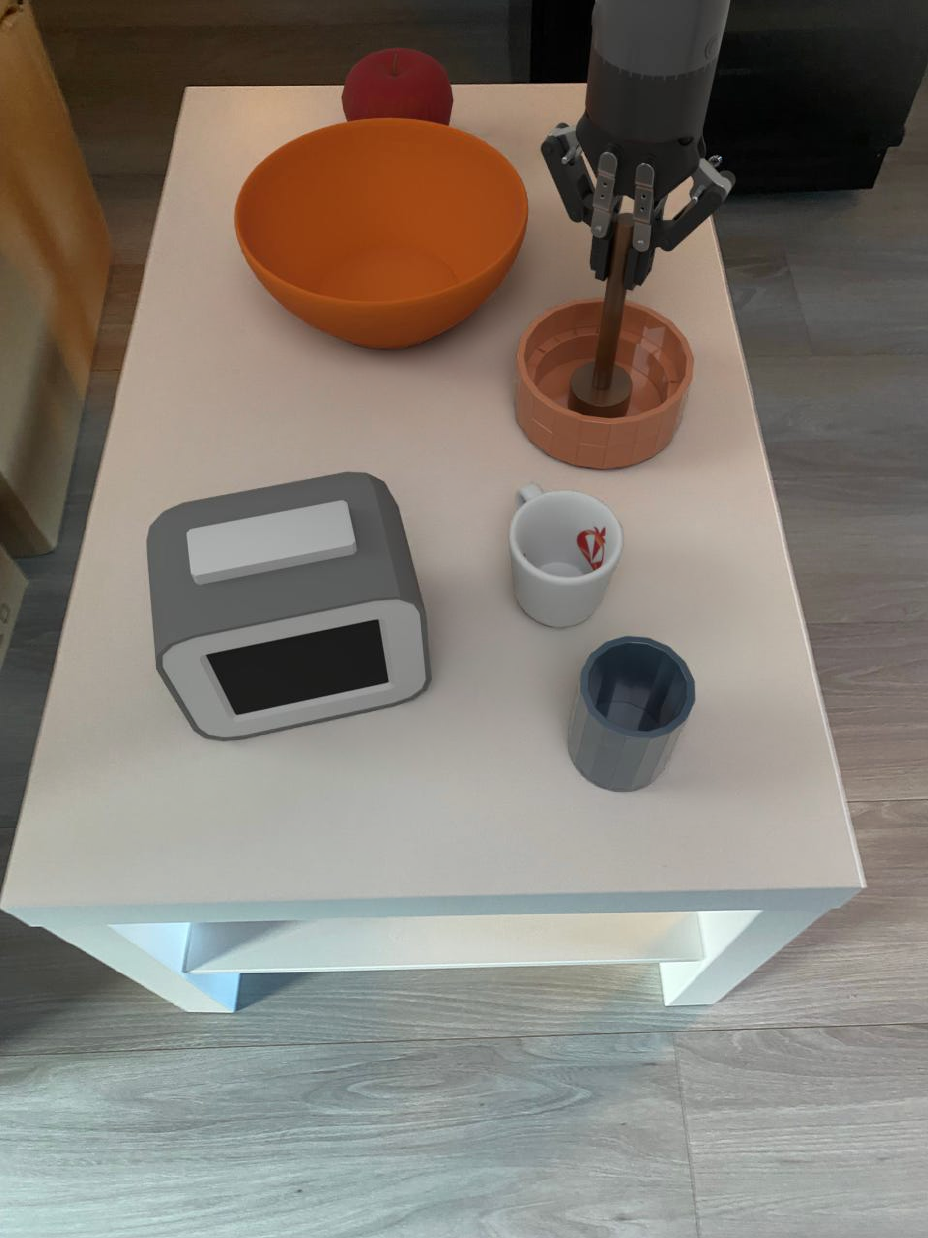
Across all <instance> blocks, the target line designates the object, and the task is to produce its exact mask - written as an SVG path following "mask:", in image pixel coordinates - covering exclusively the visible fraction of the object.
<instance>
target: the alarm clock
mask: <svg viewBox="0 0 928 1238" xmlns="http://www.w3.org/2000/svg"><path fill="white" fill-rule="evenodd" d="M145 543H146V562H147V573H148V586H149V597H150V611H151V622H152V634H153V636H152V637H153V646H154V647H153V648H154V660H155V670H156V672H157V673H158V675H159V677H160V678H161V680H162V681H163V683H164V685H165V686H166V688H167V690H168V691H169V693H170V695H171V696H172V698H173V700H174V701H175V703H176V704H177V706H178V708H179V710H180V711H181V712H182V715H183V716H184V718H185V719H186V721H187V723H188V724H189V726H190V728H191V729H192V731H193V732H195V733H196V734H197V735H199V736H200V737H202V738H203V739H207V740H213V741H221V742H228V741H238V740H247V739H251V738H255V737H260V736H265V735H270V734H275V733H279V732H283V731H288V730H292V729H293V730H294V729H296V728H303V727H305V726H306V727H307V726H310V725H311V726H312V725H315V724H320V723H324V722H329V721H334V720H338V719H343V718H347V717H351V716H356V715H361V714H366V713H370V712H374V711H375V712H376V711H379V710H384V709H388V708H393V707H396V706H399V705H402V704H405V703H408V702H411V701H414V700H415V699H417V698H418V697H419V696H420V695H422V694H423V693H425V692H427V690H428V688H429V686H430V684H431V681H432V669H431V655H430V645H429V634H428V621H427V611H426V607H425V604H424V600H423V595H422V591H421V588H420V584H419V580H418V577H417V576H418V575H417V572H416V569H415V564H414V561H413V558H412V552H411V549H410V545H409V541H408V537H407V534H406V530H405V526H404V522H403V518H402V514H401V509H400V506H399V504H398V503H397V501H396V499H395V498H394V496H393V494H392V493H391V490H390V489H389V487H388V485H387V483H386V482H385V480H382V479H380V478H379V477H376V476H374V475H372V474H370V473H368V472H365V471H363V472H361V471H342V472H337V473H332V474H327V475H322V476H316V477H311V478H305V479H301V480H294V481H290V482H285V483H279V484H274V485H268V486H264V487H257V488H253V489H247V490H242V491H237V492H231V493H227V494H226V493H225V494H221V495H215V496H210V497H206V498H200V499H194V500H189V501H184V502H181V503H178V504H177V505H174V506H172V507H169V508H167V509H165V510H163V511H162V512H161V513H160V514H159V515H158V516H157V517H156V519H155V520H154V521H153V522H152V523H150V525H149V527H148V531H147V536H146V541H145Z"/></svg>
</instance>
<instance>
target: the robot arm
mask: <svg viewBox="0 0 928 1238" xmlns="http://www.w3.org/2000/svg"><path fill="white" fill-rule="evenodd" d="M730 4H731V0H595V4H594V6H593V9H592V14H591V27H592V30H591V31H592V32H591V40H590V41H591V42H590V51H589V60H588V61H589V63H588V70H587V80H586V88H585V91H586V92H585V99H584V107H585V108H584V112H583V114H582V115H581V117H580V118H579V119H578V121H577V123H576V124H573V125H569V124H568V123H566V122H559V123H557V125H555V127H554V128H553V129H552V130H551V131H550V133H549V134H548V135H547V136H546V137H545V140H544V141H543V142H542V143H541V145H540V152H541V155H542V157H543V160H544V161H545V164H546V166H547V169H548V172H549V173H550V176H551V178H552V181H553V183H554V185H555V188H556V190H557V193H558V195H559V197H560V200H561V202H562V204H563V206H564V209H565V211H566V213H567V216H568V219H570V221H572V222H573V223H576V224H580V223H582V222H583V223H584V224H585V225H587V226H588V227H589V229H590V233H591V234H592V239H591V244H590V245H591V247H590V253H589V262H588V264H589V268H590V270H591V271H593V272H594V279H595V280H596V281H600V282H602V283H603V282H606V281H607V277H608V270H609V263H610V256H611V250H612V243H613V236H614V229H615V222H616V218H617V216H618V215H619V214H621V211H622V205H623V201H624V197H628V198H629V199H631V200H632V201H633V210H632V214H633V221H635V224H634V233H633V244H632V245H631V247H630V248H629V254H628V260H627V266H626V272H625V278H624V284H623V288H624V289H627V291H629V292H633V291H635V288H636V287H637V286H639V287H641V286H642V285H643V284H644V282H646V280H647V278H648V276H649V275H650V273H651V272H652V270H653V265H654V260H655V254H656V250H657V249H658V248H660V249H661V250H662V251H663V252H672V251H673V250H674V249H676V248H677V247H678V246H679V245H680V244H681V243H682V242H683V241H685V240H686V239H687V237H689V236H690V235H691V234H693V233H694V231H696V230H697V228H699V227H700V225H702V224H703V223H704V222H705V221H706V220H707V219H708V218H710V216H712V215H713V214H714V213H715V212H716V211H717V210H719V208H720V207H721V206H722V205H723V203H724V201H725V200H726V199H727V197H728V195H729V193H730V192H731V190H732V188H733V187H734V185H735V184H736V176H735V174H734V173H733V172H731V171H730V170H722V171H720V172H718V170H717V169H716V168H715V167H713V165H712V164H711V163H710V162H709V161H707V160H706V159H705V158H706V153H707V147H706V143H705V141H704V136H703V135H704V133H703V129H704V126H705V125H704V124H705V121H706V116H707V112H708V107H709V102H710V97H711V93H712V88H713V84H714V79H715V74H716V69H717V66H718V61H719V56H720V51H721V46H722V41H723V39H724V38H723V37H724V32H725V29H726V24H727V19H728V15H729V9H730ZM582 154H583V155H584V157H585V158H586V161H587V163H588V164H589V167H590V169H591V171H592V173H593V175H594V176H595V179H596V183H595V185H594V182H593V180H592V176H591V175H590V172H589V169H588V167H587V165H586V162H585V160H584V157H583V155H582ZM689 178H691V179H692V181H693V184H692V187H691V188H690V189H689V198H690V201H689V202H688V203H687V204H686V205H684V206H683V208H681V209H680V210H679V212H677V213H676V214H675V215H674V216H673V217H672V218H671V219H664V214H665V206H666V203H667V200H668V197H669V194H670V193H672V192H674V190H675V189H677V188H678V187H679V186H680V185H682V184H683V183H684V182H685V181H687V180H688V179H689Z"/></svg>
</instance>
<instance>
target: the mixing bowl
mask: <svg viewBox="0 0 928 1238" xmlns="http://www.w3.org/2000/svg"><path fill="white" fill-rule="evenodd" d="M604 297H605V296H597V297H596V296H595V297H586V298H577V299H572V300H568V301H566V302H564V303H560V304H557V305H555V306H552V307H550V308H548V309H546V311H544V312H542V313H541V314H539V315H538V316H537V317H535V318H534V319H533V320H532V321H531V322H530V323H529V324H528V326H527V328H526V329H525V331H524V332H523V333H522V335H521V336H520V338H519V343H518V346H517V350H516V351H517V352H516V356H515V372H514V373H515V375H514V395H513V406H514V410H515V411H514V412H515V414H516V419H517V423H518V424H519V426H520V428H521V429H522V430H523V432H524V433H525V435H526V436H527V438H528V439H529V440H530V441H531V442H532V443H533V444H534V445H536V447H538V448H539V449H541V450H542V451H544V452H545V453H546V454H547V455H549V456H550V457H553V458H555V459H557V460H560V461H563V462H565V463H567V464H569V465H572V466H578V467H586V468H593V469H600V470H605V469H615V468H623V467H631V466H633V465H635V464H638V463H640V462H643V461H645V460H649V459H650V458H652V457H654V456H655V455H657V454H658V453H659V452H660V451H661V450H662V449H664V448H665V447H667V446H668V445H669V444H670V443H671V441H672V439H673V438H674V436H675V434H676V432H677V431H678V429H679V427H680V424H681V422H682V418H683V416H684V415H683V414H684V410H685V408H686V403H687V401H688V400H687V399H688V397H689V393H690V389H691V385H692V381H693V378H694V366H695V365H694V363H695V357H694V355H693V351H692V349H691V346H690V344H689V341H688V339H687V337H686V336H685V335H684V334H683V332H682V331H681V330H680V329H679V328H678V327H677V325H676V324H675V323H674V322H673V321H672V320H671V319H669V318H667V317H666V316H665V315H662V314H661V313H659V312H658V311H656V310H654V309H653V308H652V307H649V306H646V305H642V304H639V303H637V302H633V301H631V300H628V299H626V300H625V306H624V312H623V318H622V324H621V329H620V335H619V341H618V347H617V353H616V359H615V364H616V365H618V366H620V367H622V368H623V369H624V370H626V371H627V373H628V374H629V375H630V377H631V379H632V383H633V388H632V393H631V398H630V403H629V408H628V411H627V413H626V415H625V416H624V417H618V418H603V417H595V416H587V415H582V414H579V413H577V412H574V411H572V410H570V409H569V406H568V396H569V388H570V380H571V376H572V374H573V373H574V371H575V370H576V369H577V368H578V367H580V366H581V365H583V364H586V363H589V362H593V361H595V358H596V351H597V344H598V338H599V331H600V324H601V317H602V311H603V304H604Z"/></svg>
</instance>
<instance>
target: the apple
mask: <svg viewBox="0 0 928 1238" xmlns="http://www.w3.org/2000/svg"><path fill="white" fill-rule="evenodd" d="M451 84H452V83H451V81H450V78H449V76H448V73H447V71H446V67H444V66H443V65H442V64H441V63H440V62H439V61H438V60H437V59H436V58H434V57H432V56H430V55H429V54H427V53H425V52H424V51H420V50H417V49H413V48H406V47H392V48H384V49H381V50H377V51H373V52H371V53H369V54H367V55H366V56H364V57H362V58H361V59H360V60H359V61H357V63H356V64H354V65H353V66H352V67H351V69H350V71H349V73H348V74H347V76H346V78H345V81H344V85H343V89H342V93H341V98H340V99H341V105H342V109H343V110H342V111H343V113H344V116H345V119H346V122H349V121H355V120H362V119H374V118H405V119H416V120H423V121H429V122H434V123H438V124H443V125H447V126H450V122H451V118H452V117H451V116H452V112H453V106H454V93H453V88H452V85H451Z"/></svg>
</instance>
